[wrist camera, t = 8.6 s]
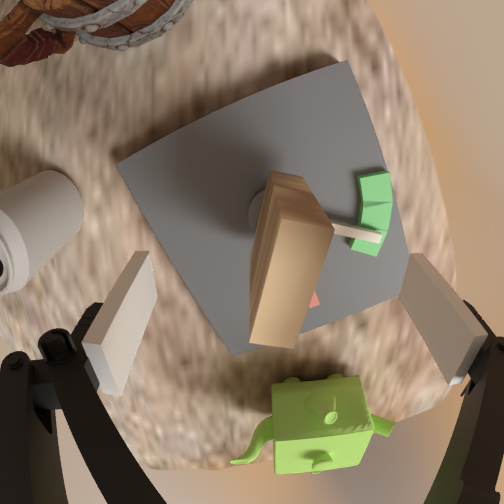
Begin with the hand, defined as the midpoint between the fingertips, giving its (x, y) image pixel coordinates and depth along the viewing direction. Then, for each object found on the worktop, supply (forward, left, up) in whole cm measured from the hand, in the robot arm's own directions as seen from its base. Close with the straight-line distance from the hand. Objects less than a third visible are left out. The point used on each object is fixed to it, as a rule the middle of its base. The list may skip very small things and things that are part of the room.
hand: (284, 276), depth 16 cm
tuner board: (+2, 0, -13) cm, 13 cm away
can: (-9, -19, -14) cm, 25 cm away
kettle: (+25, -5, -14) cm, 29 cm away
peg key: (+3, +3, -11) cm, 12 cm away
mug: (-22, -4, -14) cm, 26 cm away
